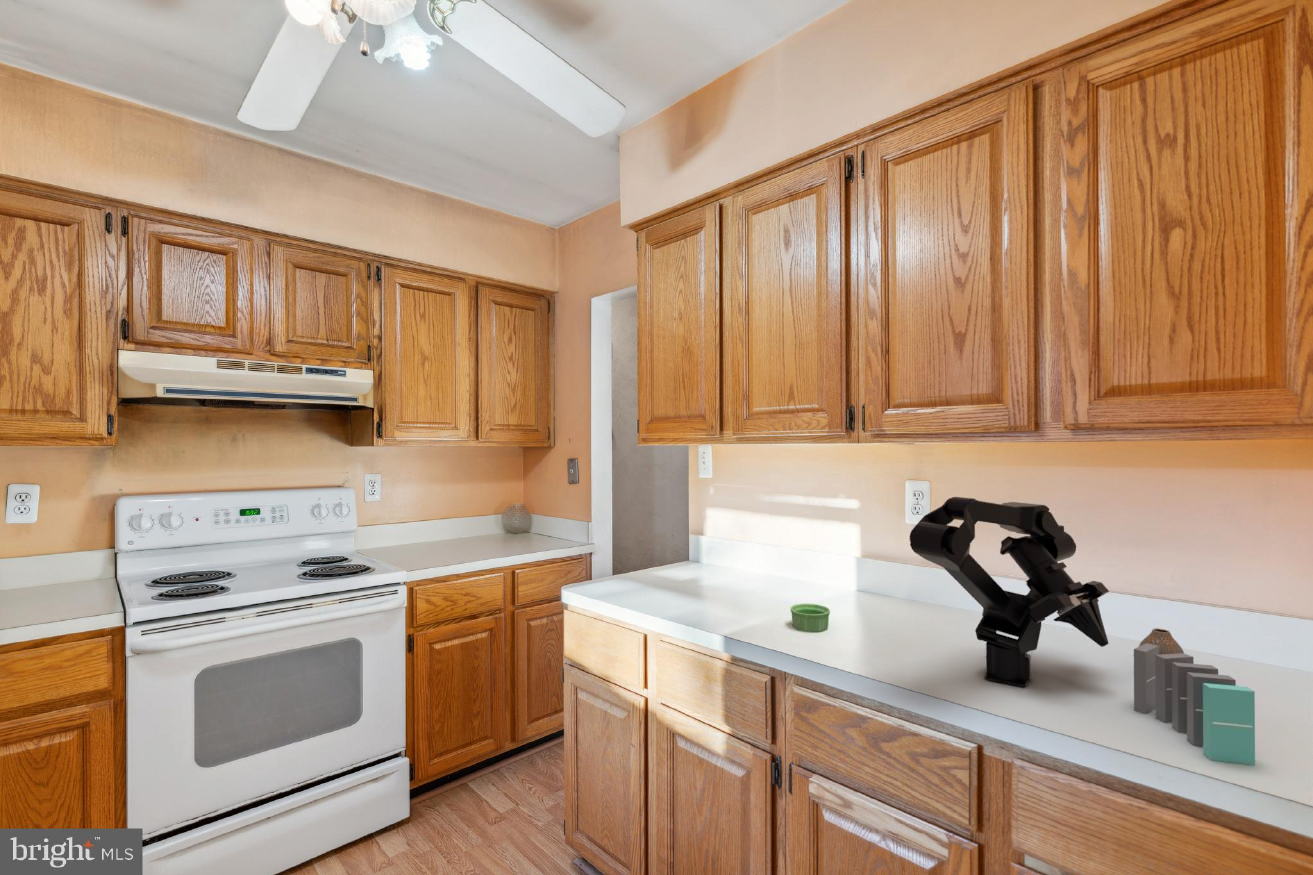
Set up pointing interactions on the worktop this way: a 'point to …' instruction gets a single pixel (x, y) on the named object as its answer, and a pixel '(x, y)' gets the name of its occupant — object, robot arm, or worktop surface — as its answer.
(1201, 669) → the domino
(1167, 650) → the vase
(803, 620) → the ramekin
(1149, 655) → the domino
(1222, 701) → the domino
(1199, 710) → the domino
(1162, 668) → the domino
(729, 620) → the worktop surface
